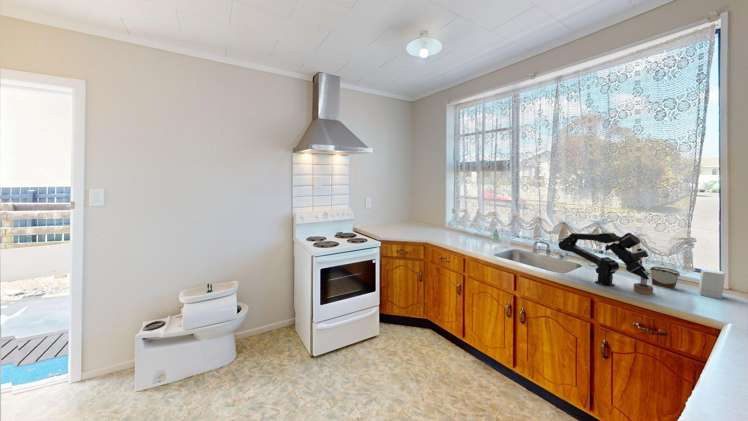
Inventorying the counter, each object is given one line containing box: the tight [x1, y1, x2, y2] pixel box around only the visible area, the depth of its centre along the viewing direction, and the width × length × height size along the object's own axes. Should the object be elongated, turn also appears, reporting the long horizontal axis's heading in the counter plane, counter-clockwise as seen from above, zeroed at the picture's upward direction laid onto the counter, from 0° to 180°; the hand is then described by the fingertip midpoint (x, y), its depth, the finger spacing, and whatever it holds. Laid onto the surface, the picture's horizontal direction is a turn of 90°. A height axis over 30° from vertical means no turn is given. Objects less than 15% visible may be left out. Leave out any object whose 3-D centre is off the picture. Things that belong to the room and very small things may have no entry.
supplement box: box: [698, 268, 726, 300], centre depth 148 cm, size 7×7×13 cm
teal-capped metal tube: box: [639, 270, 649, 287], centre depth 151 cm, size 2×2×11 cm
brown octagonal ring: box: [633, 282, 654, 295], centre depth 152 cm, size 7×7×4 cm
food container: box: [649, 266, 681, 291], centre depth 160 cm, size 12×6×10 cm, turn 22°
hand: (648, 277), depth 150 cm, fingers open, 9 cm apart
